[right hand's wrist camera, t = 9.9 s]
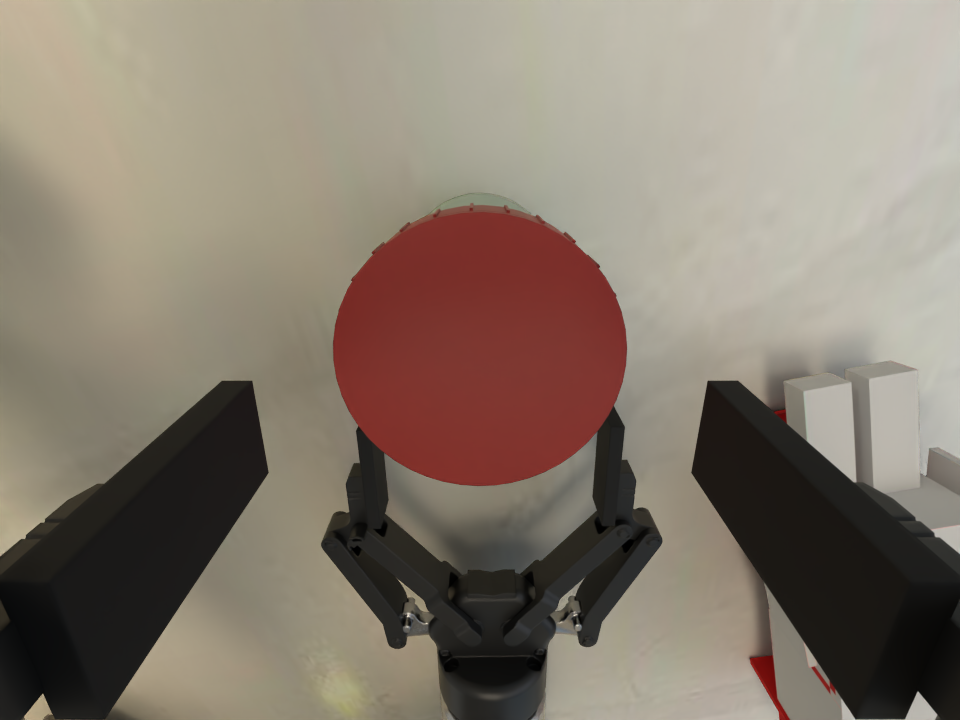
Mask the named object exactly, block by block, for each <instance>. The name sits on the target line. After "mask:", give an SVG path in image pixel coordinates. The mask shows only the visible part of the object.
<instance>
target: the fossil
mask: <svg viewBox="0 0 960 720" xmlns="http://www.w3.org/2000/svg"><path fill="white" fill-rule="evenodd" d="M43 720H63V719H55V718H54V716H53V715H49V714H48V715H47V716H46V717H45V718H44V719H43Z"/></svg>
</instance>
